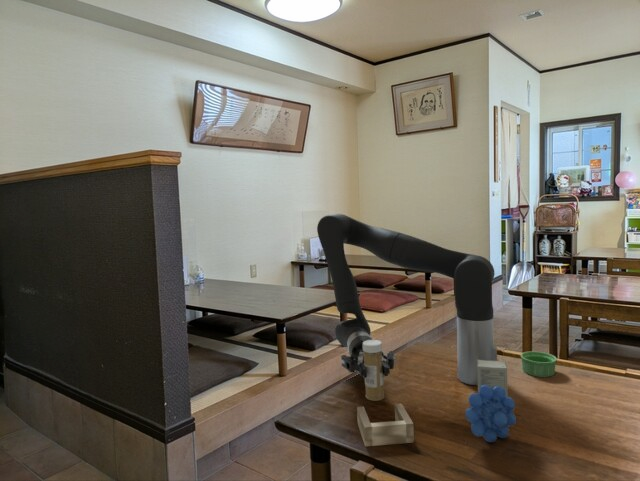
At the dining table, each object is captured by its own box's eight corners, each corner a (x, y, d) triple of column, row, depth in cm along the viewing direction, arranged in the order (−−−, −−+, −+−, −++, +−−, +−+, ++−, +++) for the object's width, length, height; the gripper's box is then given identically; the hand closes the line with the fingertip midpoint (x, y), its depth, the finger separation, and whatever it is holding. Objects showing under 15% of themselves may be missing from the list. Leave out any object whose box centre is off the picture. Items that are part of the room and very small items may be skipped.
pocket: (401, 420, 99) (401, 403, 99) (413, 442, 90) (413, 423, 90) (357, 424, 98) (357, 407, 98) (365, 446, 89) (364, 427, 89)
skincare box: (507, 412, 101) (506, 360, 100) (508, 422, 97) (508, 368, 96) (477, 409, 103) (477, 358, 102) (477, 418, 99) (477, 365, 98)
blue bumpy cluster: (480, 459, 84) (479, 397, 83) (459, 441, 90) (458, 383, 89) (530, 446, 87) (530, 387, 86) (506, 430, 93) (506, 375, 92)
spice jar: (388, 397, 105) (386, 342, 104) (373, 403, 102) (370, 346, 101) (375, 391, 109) (373, 337, 107) (361, 396, 106) (358, 341, 105)
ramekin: (521, 376, 121) (521, 360, 121) (520, 364, 130) (520, 349, 129) (558, 380, 118) (558, 363, 117) (554, 367, 126) (554, 352, 126)
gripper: (335, 337, 118) (344, 359, 101) (388, 332, 119) (405, 354, 102) (336, 364, 119) (345, 391, 102) (389, 360, 120) (407, 386, 103)
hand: (375, 372), depth 102 cm, fingers closed on spice jar, 4 cm apart
